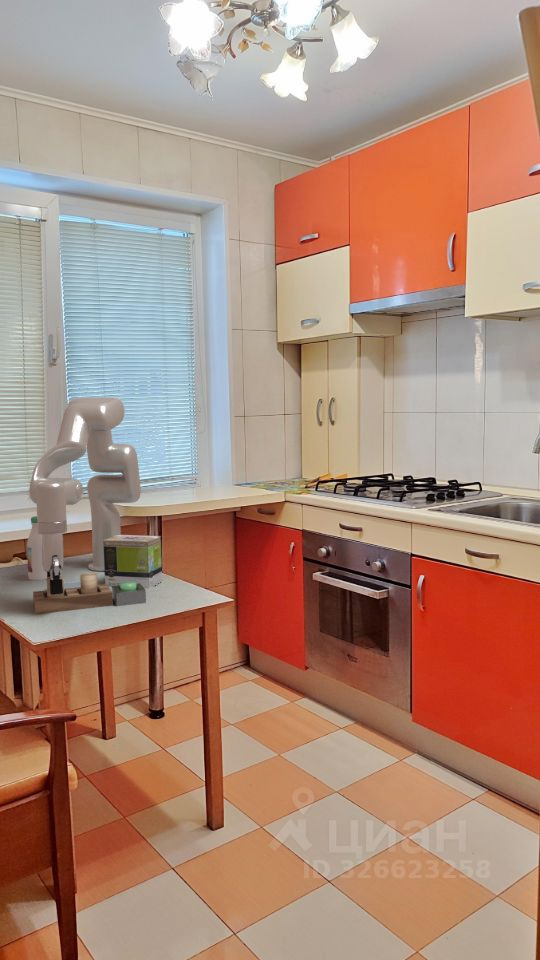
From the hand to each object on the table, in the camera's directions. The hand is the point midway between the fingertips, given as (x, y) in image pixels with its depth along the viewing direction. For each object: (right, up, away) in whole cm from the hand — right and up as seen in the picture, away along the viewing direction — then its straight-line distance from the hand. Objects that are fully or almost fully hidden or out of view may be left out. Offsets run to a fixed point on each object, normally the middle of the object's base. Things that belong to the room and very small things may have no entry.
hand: (55, 589), depth 191 cm
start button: (+19, -2, +6) cm, 20 cm away
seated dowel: (+8, -4, +4) cm, 10 cm away
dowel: (0, -5, +1) cm, 5 cm away
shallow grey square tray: (0, -4, +15) cm, 15 cm away
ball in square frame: (+19, -5, +6) cm, 20 cm away
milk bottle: (-15, -2, +33) cm, 36 cm away
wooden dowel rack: (+4, -5, +2) cm, 7 cm away
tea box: (+17, -3, +25) cm, 30 cm away
